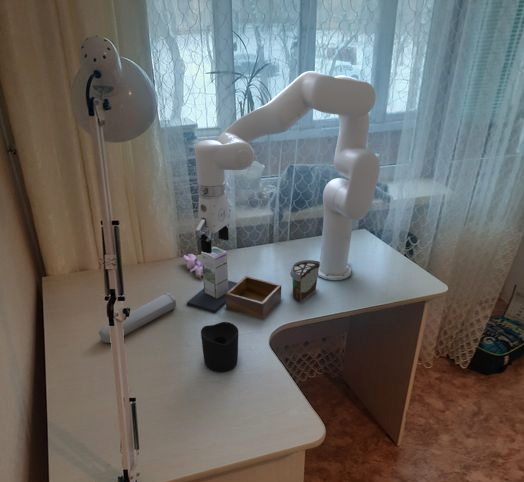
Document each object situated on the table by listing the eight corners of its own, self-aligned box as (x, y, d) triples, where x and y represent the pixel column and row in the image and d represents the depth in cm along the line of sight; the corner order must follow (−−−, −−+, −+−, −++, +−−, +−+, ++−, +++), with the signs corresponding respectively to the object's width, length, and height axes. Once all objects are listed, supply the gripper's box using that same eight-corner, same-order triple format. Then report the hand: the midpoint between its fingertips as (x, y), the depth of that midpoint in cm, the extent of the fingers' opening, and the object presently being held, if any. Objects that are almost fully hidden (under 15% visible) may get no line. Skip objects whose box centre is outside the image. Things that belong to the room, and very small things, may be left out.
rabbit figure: (212, 280, 168) (194, 257, 177) (213, 266, 164) (194, 242, 173) (195, 285, 166) (178, 260, 175) (195, 270, 162) (177, 246, 170)
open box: (245, 290, 161) (245, 275, 158) (280, 300, 156) (281, 285, 153) (226, 308, 152) (225, 293, 148) (262, 319, 147) (263, 303, 144)
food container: (302, 283, 165) (303, 255, 159) (318, 288, 162) (320, 261, 156) (281, 298, 157) (282, 270, 151) (298, 304, 154) (299, 276, 148)
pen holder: (210, 349, 135) (209, 318, 129) (243, 355, 133) (243, 324, 127) (197, 370, 128) (194, 338, 122) (231, 377, 126) (231, 345, 120)
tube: (108, 337, 132) (177, 299, 147) (95, 325, 133) (165, 289, 149) (107, 350, 136) (175, 312, 151) (95, 338, 137) (163, 301, 153)
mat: (217, 280, 166) (217, 277, 166) (243, 287, 163) (243, 284, 162) (187, 304, 153) (186, 302, 153) (214, 313, 150) (214, 310, 149)
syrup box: (229, 292, 158) (228, 250, 149) (216, 299, 154) (214, 257, 145) (216, 286, 161) (214, 245, 152) (203, 293, 157) (200, 251, 148)
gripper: (206, 201, 130) (211, 260, 140) (238, 181, 142) (240, 237, 153) (182, 196, 133) (188, 255, 143) (216, 177, 145) (219, 232, 155)
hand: (215, 245), depth 148 cm, fingers open, 9 cm apart
